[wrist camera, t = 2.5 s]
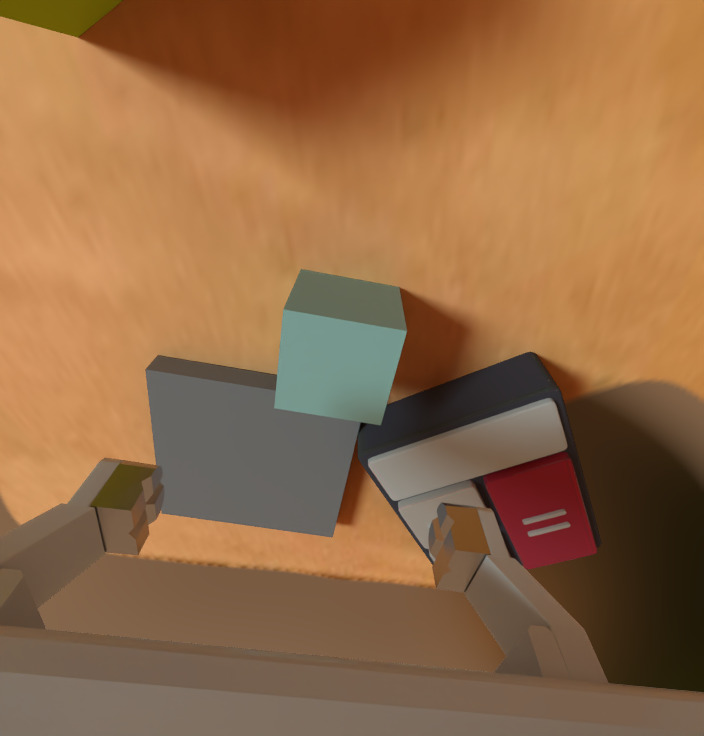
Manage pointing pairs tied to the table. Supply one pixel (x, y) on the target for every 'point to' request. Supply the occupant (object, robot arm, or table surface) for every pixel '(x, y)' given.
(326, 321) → the teal cube
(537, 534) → the calculator
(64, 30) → the puzzle toy
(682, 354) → the table surface
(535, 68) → the table surface
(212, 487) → the slate coaster
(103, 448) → the table surface
